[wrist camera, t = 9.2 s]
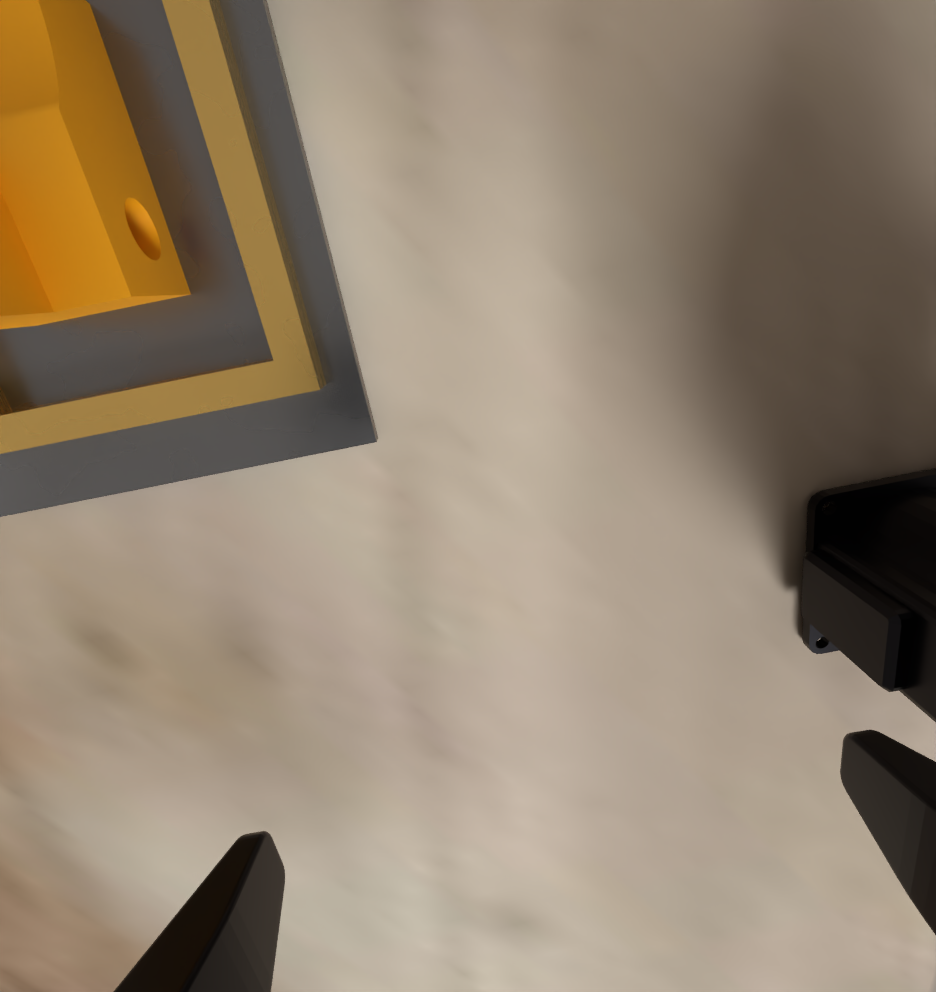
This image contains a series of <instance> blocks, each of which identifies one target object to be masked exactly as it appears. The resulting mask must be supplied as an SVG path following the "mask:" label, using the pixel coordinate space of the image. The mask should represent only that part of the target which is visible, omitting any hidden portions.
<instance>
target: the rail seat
mask: <svg viewBox="0 0 936 992" xmlns="http://www.w3.org/2000/svg"><path fill="white" fill-rule="evenodd" d="M86 1H87V2H88V3H89V4H90V6H91V9H92V11H93V14H94V17H95V20H96V23H97V26H98V29H99V32H100V34H101V37H102V40H103V43H104V46H105V49H106V52H107V55H108V57H109V60H110V63H111V66H112V69H113V72H114V75H115V78H116V80H117V83H118V86H119V89H120V92H121V95H122V98H123V100H124V103H125V106H126V109H127V112H128V115H129V118H130V121H131V123H132V126H133V129H134V132H135V135H136V138H137V141H138V144H139V146H140V149H141V152H142V155H143V158H144V161H145V164H146V167H147V169H148V172H149V175H150V178H151V181H152V184H153V187H154V189H155V192H156V195H157V198H158V201H159V204H160V207H161V210H162V212H163V215H164V218H165V221H166V224H167V227H168V230H169V233H170V235H171V238H172V241H173V244H174V247H175V250H176V253H177V256H178V258H179V261H180V264H181V267H182V270H183V273H184V276H185V279H186V281H187V284H188V287H189V290H190V293H191V295H186V296H181V297H176V298H171V299H166V300H161V301H156V302H151V303H146V304H141V305H136V306H131V307H127V308H122V309H117V310H112V311H107V312H102V313H97V314H92V315H87V316H82V317H77V318H72V319H67V320H62V321H57V322H53V323H48V324H43V325H38V326H28V327H18V328H9V329H0V517H2V516H7V515H12V514H17V513H22V512H27V511H32V510H37V509H42V508H47V507H52V506H57V505H62V504H67V503H72V502H77V501H82V500H87V499H92V498H97V497H102V496H107V495H112V494H117V493H122V492H128V491H133V490H138V489H143V488H148V487H153V486H158V485H163V484H168V483H173V482H178V481H183V480H188V479H193V478H198V477H203V476H208V475H213V474H218V473H223V472H228V471H233V470H238V469H243V468H248V467H253V466H258V465H263V464H268V463H273V462H278V461H283V460H288V459H293V458H298V457H303V456H308V455H313V454H318V453H323V452H328V451H333V450H338V449H343V448H348V447H354V446H359V445H364V444H369V443H374V442H377V439H378V436H377V432H376V428H375V424H374V420H373V416H372V412H371V408H370V404H369V400H368V397H367V393H366V389H365V385H364V381H363V377H362V373H361V369H360V365H359V361H358V357H357V353H356V349H355V346H354V342H353V338H352V334H351V330H350V326H349V322H348V318H347V314H346V310H345V306H344V302H343V299H342V295H341V291H340V287H339V283H338V279H337V275H336V271H335V267H334V263H333V259H332V255H331V252H330V248H329V244H328V240H327V236H326V232H325V228H324V224H323V220H322V216H321V212H320V208H319V205H318V201H317V197H316V193H315V189H314V185H313V181H312V177H311V173H310V169H309V165H308V161H307V157H306V154H305V150H304V146H303V142H302V138H301V134H300V130H299V126H298V122H297V118H296V114H295V110H294V107H293V103H292V99H291V95H290V91H289V87H288V83H287V79H286V75H285V71H284V67H283V63H282V60H281V56H280V52H279V48H278V44H277V40H276V36H275V32H274V28H273V24H272V20H271V16H270V13H269V9H268V5H267V1H266V0H86Z"/></svg>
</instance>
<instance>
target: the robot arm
mask: <svg viewBox="0 0 936 992" xmlns="http://www.w3.org/2000/svg"><path fill="white" fill-rule="evenodd" d="M828 502H829V505H828V507H827V508H826V509H825V510H823V511H822V509H823V506H824V505H825V504H826V503H828ZM801 615H802V617H803V637H802V639H803V643H804V644H805V645H806V646H807V647H808V648H809V649H810V650H811V651H812V652H813V653H816V654H823V653H828V652H833V651H838V650H840V651H841V652H842V653H843V654H844V655H846V656H847V657H848V658H849V659H850V660H851V661H852V662H853V663H855V664H856V665H857V666H858V667H859V668H860V669H861V670H862V671H863V672H865V673H866V674H867V675H868V676H869V677H870V678H871V679H872V680H874V681H875V682H876V683H877V684H878V685H879V686H881V687H882V688H884V689H885V690H887V691H888V692H893V691H898V690H899V691H900V692H901V693H903V694H904V695H905V696H906V697H907V698H908V699H910V700H911V701H912V702H913V703H914V704H915V705H916V706H918V707H919V708H920V709H921V710H922V711H923V712H925V713H926V714H927V715H928V716H929V717H930V718H931V719H933V720H934V721H935V722H936V469H931V470H925V471H920V472H915V473H910V474H905V475H900V476H895V477H890V478H885V479H880V480H875V481H869V482H864V483H859V484H854V485H849V486H844V487H839V488H834V489H829V490H824V491H820V492H818V493H816V494H815V495H814V496H812V498H811V499H810V501H809V503H808V508H807V533H806V554H805V557H804V559H803V582H802V609H801ZM819 638H821V639H820V640H819V641H817V640H818V639H819ZM840 775H841V780H842V783H843V785H844V788H845V790H846V792H847V793H848V795H849V797H850V798H851V800H852V802H853V803H854V805H855V807H856V809H857V810H858V812H859V814H860V815H861V817H862V819H863V820H864V822H865V824H866V826H867V827H868V829H869V831H870V832H871V834H872V836H873V837H874V839H875V841H876V842H877V844H878V846H879V848H880V849H881V851H882V853H883V854H884V856H885V858H886V859H887V861H888V863H889V865H890V866H891V868H892V870H893V871H894V873H895V875H896V876H897V878H898V880H899V881H900V883H901V885H902V886H903V888H904V889H905V891H906V893H907V894H908V896H909V897H910V899H911V900H912V902H913V903H914V905H915V906H916V908H917V909H918V911H919V912H920V914H921V915H922V916H923V918H924V919H925V921H926V922H927V924H928V925H929V926H930V928H931V929H932V931H933V932H934V933H935V935H936V762H935V761H933V760H931V759H929V758H927V757H925V756H923V755H922V754H920V753H918V752H916V751H914V750H912V749H910V748H908V747H906V746H905V745H903V744H901V743H899V742H897V741H895V740H893V739H891V738H889V737H888V736H886V735H884V734H882V733H880V732H877V731H874V730H865V731H859V732H853V733H849V734H847V735H846V736H845V737H844V740H843V748H842V758H841V769H840ZM284 885H285V870H284V866H283V863H282V860H281V858H280V856H279V853H278V851H277V849H276V846H275V844H274V841H273V839H272V837H271V835H270V834H269V833H268V832H266V831H262V832H256V833H250V834H245V835H243V836H241V837H240V838H238V839H237V840H236V842H235V843H234V844H233V845H232V846H231V848H230V849H229V850H228V851H227V853H226V854H225V855H224V856H223V858H222V859H221V860H220V861H219V862H218V864H217V865H216V866H215V867H214V869H213V870H212V871H211V872H210V874H209V875H208V876H207V877H206V878H205V880H204V881H203V882H202V883H201V885H200V886H199V887H198V888H197V890H196V891H195V892H194V893H193V895H192V896H191V897H190V898H189V899H188V901H187V902H186V903H185V904H184V906H183V907H182V908H181V909H180V911H179V912H178V913H177V914H176V915H175V917H174V918H173V919H172V920H171V922H170V923H169V924H168V925H167V927H166V928H165V929H164V930H163V931H162V933H161V934H160V935H159V936H158V938H157V939H156V940H155V941H154V943H153V944H152V945H151V946H150V947H149V949H148V950H147V951H146V952H145V954H144V955H143V956H142V957H141V959H140V960H139V961H138V962H137V964H136V965H135V966H134V967H133V968H132V970H131V971H130V972H129V973H128V975H127V976H126V977H125V978H124V980H123V981H122V982H121V983H120V984H119V986H118V987H117V988H116V989H115V991H114V992H271V986H272V979H273V971H274V963H275V956H276V948H277V940H278V932H279V924H280V916H281V909H282V901H283V893H284Z"/></svg>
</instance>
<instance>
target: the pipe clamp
mask: <svg viewBox="0 0 936 992" xmlns="http://www.w3.org/2000/svg"><path fill="white" fill-rule="evenodd" d="M186 295H191V293H190V290H189V287H188V284H187V281H186V279H185V276H184V273H183V270H182V267H181V264H180V261H179V258H178V256H177V253H176V250H175V247H174V244H173V241H172V238H171V235H170V233H169V230H168V227H167V224H166V221H165V218H164V215H163V212H162V210H161V207H160V204H159V201H158V198H157V195H156V192H155V189H154V187H153V184H152V181H151V178H150V175H149V172H148V169H147V167H146V164H145V161H144V158H143V155H142V152H141V149H140V146H139V144H138V141H137V138H136V135H135V132H134V129H133V126H132V123H131V121H130V118H129V115H128V112H127V109H126V106H125V103H124V100H123V98H122V95H121V92H120V89H119V86H118V83H117V80H116V78H115V75H114V72H113V69H112V66H111V63H110V60H109V57H108V55H107V52H106V49H105V46H104V43H103V40H102V37H101V34H100V32H99V29H98V26H97V23H96V20H95V17H94V14H93V11H92V9H91V6H90V4H89V3H88V2H87V1H86V0H0V329H9V328H18V327H28V326H38V325H43V324H48V323H53V322H57V321H62V320H67V319H72V318H77V317H82V316H87V315H92V314H97V313H102V312H107V311H112V310H117V309H122V308H127V307H131V306H136V305H141V304H146V303H151V302H156V301H161V300H166V299H171V298H176V297H181V296H186Z"/></svg>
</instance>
